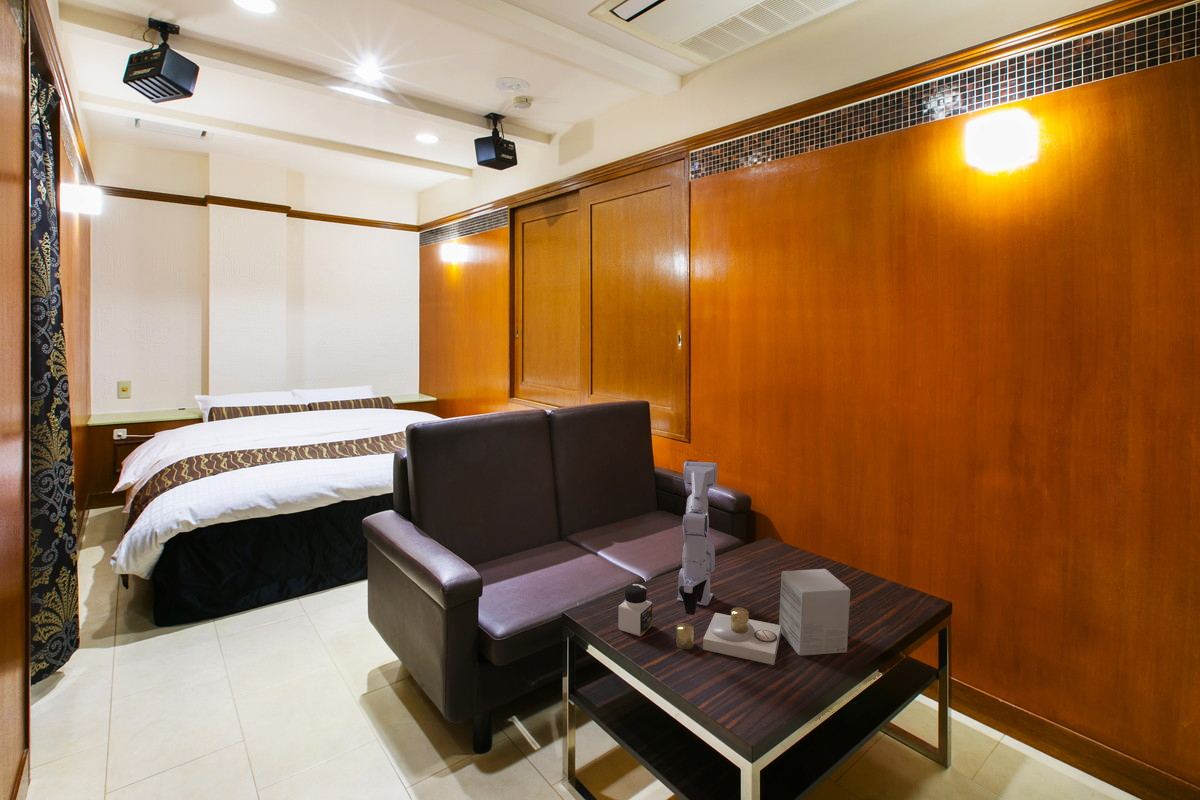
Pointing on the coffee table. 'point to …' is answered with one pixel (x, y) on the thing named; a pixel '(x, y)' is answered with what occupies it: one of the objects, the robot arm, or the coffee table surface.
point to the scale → (743, 639)
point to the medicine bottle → (635, 611)
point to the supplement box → (814, 611)
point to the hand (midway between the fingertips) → (693, 607)
